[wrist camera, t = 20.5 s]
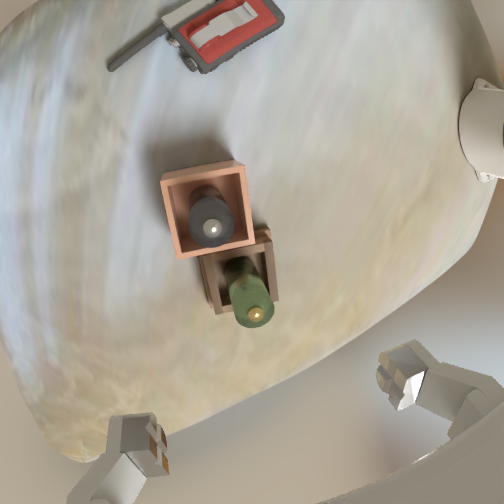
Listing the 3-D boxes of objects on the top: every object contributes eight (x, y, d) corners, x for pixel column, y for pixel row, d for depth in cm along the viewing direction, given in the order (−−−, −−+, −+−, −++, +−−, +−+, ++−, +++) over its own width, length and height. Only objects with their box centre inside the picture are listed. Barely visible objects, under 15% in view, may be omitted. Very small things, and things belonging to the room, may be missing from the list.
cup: (234, 159, 35) (244, 165, 30) (244, 226, 38) (255, 243, 33) (163, 172, 34) (159, 181, 28) (177, 239, 37) (177, 259, 32)
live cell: (255, 254, 39) (277, 296, 30) (255, 283, 40) (274, 329, 32) (223, 257, 38) (235, 300, 29) (223, 285, 40) (236, 333, 31)
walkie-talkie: (246, -25, 26) (105, 66, 28) (253, -41, 22) (95, 58, 24) (289, 24, 30) (150, 119, 32) (302, 14, 26) (145, 118, 28)
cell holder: (268, 227, 39) (275, 236, 36) (275, 289, 43) (282, 303, 40) (195, 241, 38) (197, 252, 35) (209, 304, 41) (212, 319, 38)
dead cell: (221, 182, 35) (232, 201, 26) (225, 215, 36) (238, 246, 28) (185, 188, 34) (184, 210, 26) (191, 222, 36) (193, 254, 27)
